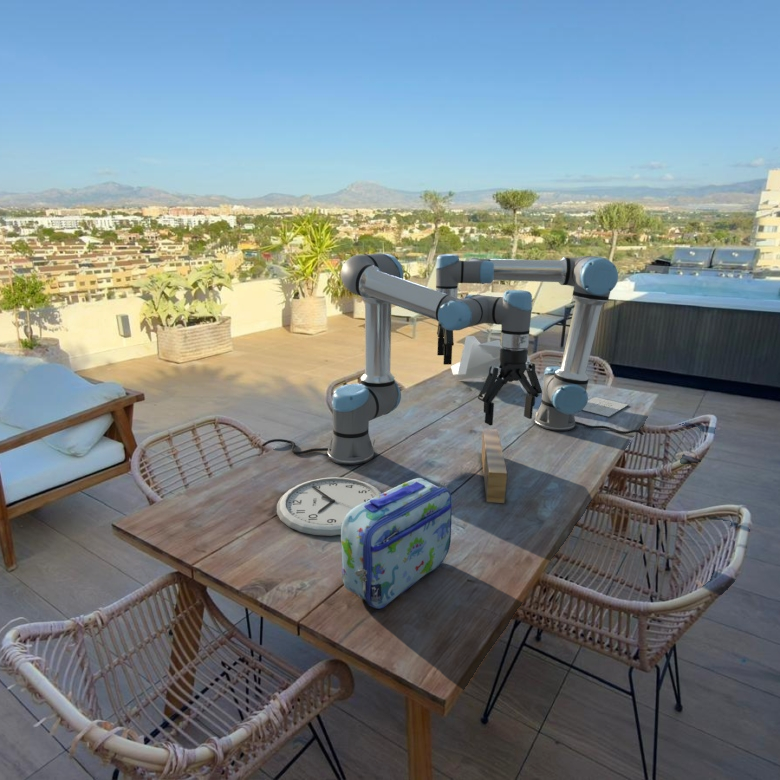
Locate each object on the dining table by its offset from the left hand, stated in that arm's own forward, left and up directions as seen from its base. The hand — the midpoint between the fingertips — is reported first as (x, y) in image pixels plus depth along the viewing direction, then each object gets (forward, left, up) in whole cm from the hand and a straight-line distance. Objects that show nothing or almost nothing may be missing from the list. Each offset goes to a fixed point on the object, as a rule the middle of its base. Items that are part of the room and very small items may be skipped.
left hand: (508, 420), depth 149 cm
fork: (-12, -20, -21) cm, 31 cm away
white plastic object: (-39, +93, -21) cm, 103 cm away
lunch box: (-5, -54, -21) cm, 58 cm away
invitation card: (+12, +93, -21) cm, 96 cm away
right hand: (-34, +30, +7) cm, 46 cm away
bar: (-5, +4, -21) cm, 22 cm away
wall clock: (-36, -37, -21) cm, 55 cm away
